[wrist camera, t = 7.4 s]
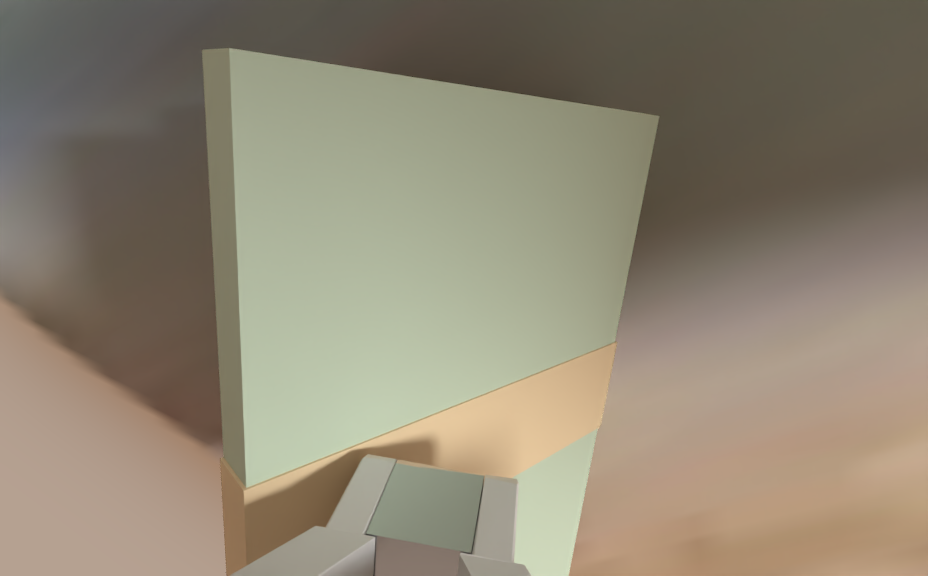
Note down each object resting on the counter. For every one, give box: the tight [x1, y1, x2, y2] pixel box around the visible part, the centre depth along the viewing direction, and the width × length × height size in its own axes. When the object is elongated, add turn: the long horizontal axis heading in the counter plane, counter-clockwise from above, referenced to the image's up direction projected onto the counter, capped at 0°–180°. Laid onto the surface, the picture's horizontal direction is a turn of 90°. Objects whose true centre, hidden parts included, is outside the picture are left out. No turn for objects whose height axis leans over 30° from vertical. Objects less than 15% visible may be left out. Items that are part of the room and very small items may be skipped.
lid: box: [202, 48, 659, 576], centre depth 11 cm, size 13×9×1 cm
